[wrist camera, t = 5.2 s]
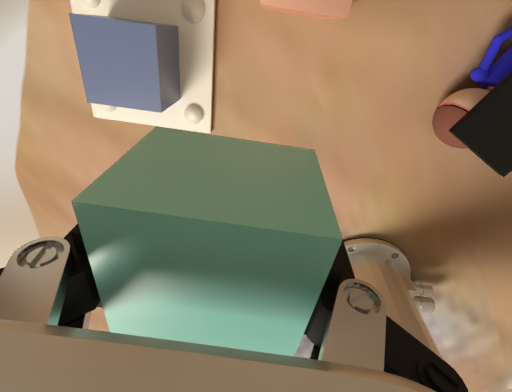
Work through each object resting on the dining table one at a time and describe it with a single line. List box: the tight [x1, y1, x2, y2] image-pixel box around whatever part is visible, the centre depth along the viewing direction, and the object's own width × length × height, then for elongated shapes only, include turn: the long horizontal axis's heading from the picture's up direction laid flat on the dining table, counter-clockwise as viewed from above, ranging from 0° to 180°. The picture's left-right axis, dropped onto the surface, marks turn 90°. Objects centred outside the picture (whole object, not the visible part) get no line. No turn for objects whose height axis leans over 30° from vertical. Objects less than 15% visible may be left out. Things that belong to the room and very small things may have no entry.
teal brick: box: [72, 126, 343, 356], centre depth 10 cm, size 6×6×5 cm
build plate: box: [69, 0, 216, 133], centre depth 22 cm, size 12×12×6 cm
